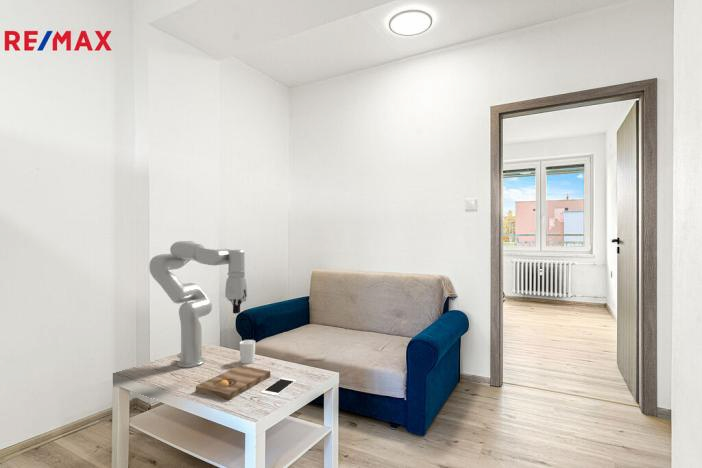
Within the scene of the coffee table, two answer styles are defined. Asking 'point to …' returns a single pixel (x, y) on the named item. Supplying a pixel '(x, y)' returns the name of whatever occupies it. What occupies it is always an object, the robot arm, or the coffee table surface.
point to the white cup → (247, 351)
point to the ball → (224, 383)
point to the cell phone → (278, 386)
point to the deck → (233, 382)
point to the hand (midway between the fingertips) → (236, 312)
